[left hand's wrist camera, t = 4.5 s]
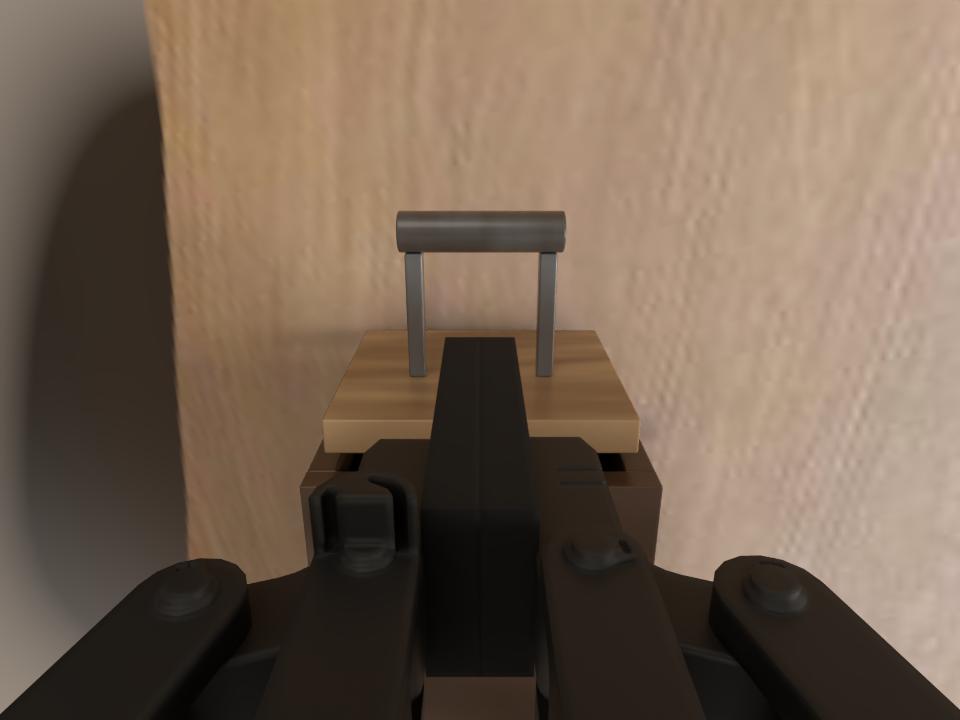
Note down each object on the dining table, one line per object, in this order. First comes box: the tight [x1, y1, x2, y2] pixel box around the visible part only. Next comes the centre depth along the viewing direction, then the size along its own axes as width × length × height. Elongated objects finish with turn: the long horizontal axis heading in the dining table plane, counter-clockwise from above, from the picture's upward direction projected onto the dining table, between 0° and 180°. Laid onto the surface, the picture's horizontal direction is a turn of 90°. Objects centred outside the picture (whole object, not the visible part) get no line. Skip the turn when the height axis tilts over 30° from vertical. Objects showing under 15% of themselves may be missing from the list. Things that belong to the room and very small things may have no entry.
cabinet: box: [300, 439, 663, 720], centre depth 29 cm, size 16×11×11 cm
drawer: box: [322, 211, 641, 453], centre depth 27 cm, size 21×10×9 cm, turn 0°
